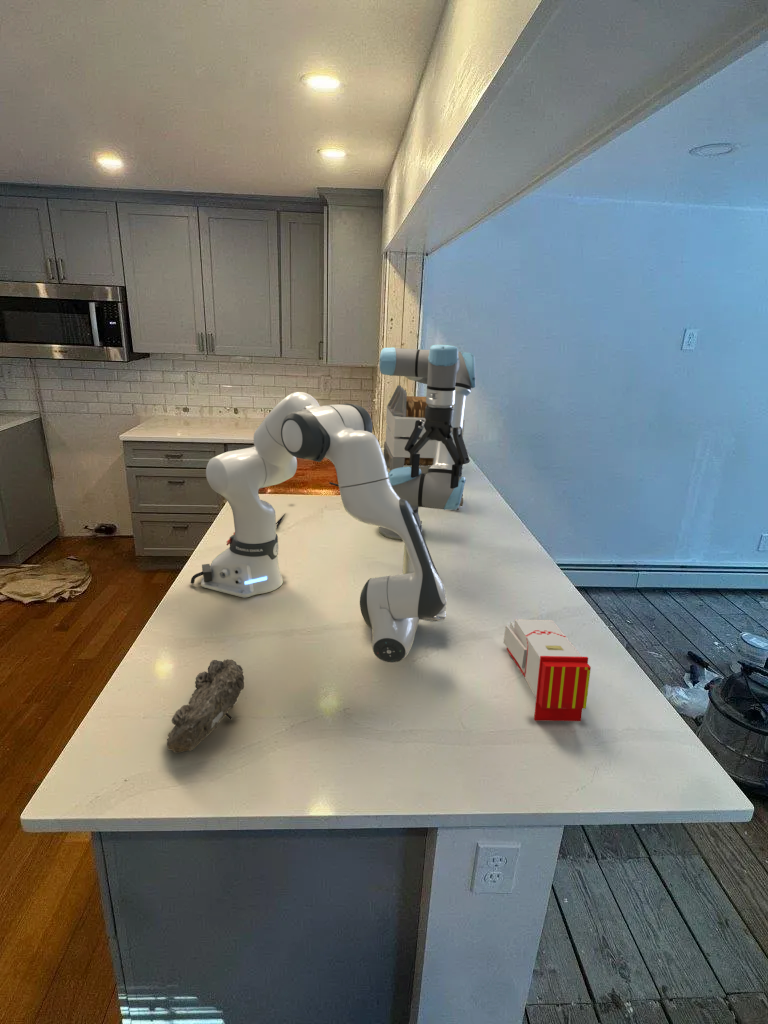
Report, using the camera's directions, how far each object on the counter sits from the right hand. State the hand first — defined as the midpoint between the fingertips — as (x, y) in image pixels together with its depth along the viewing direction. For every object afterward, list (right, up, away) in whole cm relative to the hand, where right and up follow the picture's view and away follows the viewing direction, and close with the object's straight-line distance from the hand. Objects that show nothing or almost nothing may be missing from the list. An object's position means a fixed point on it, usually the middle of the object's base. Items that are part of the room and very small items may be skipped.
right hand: (433, 482), depth 158 cm
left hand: (-7, -28, -10) cm, 31 cm away
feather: (-51, -10, +53) cm, 74 cm away
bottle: (-7, -33, -5) cm, 34 cm away
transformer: (+3, +11, +117) cm, 118 cm away
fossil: (-47, -47, -50) cm, 83 cm away
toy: (+20, -45, -34) cm, 60 cm away
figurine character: (+14, -6, +73) cm, 74 cm away
